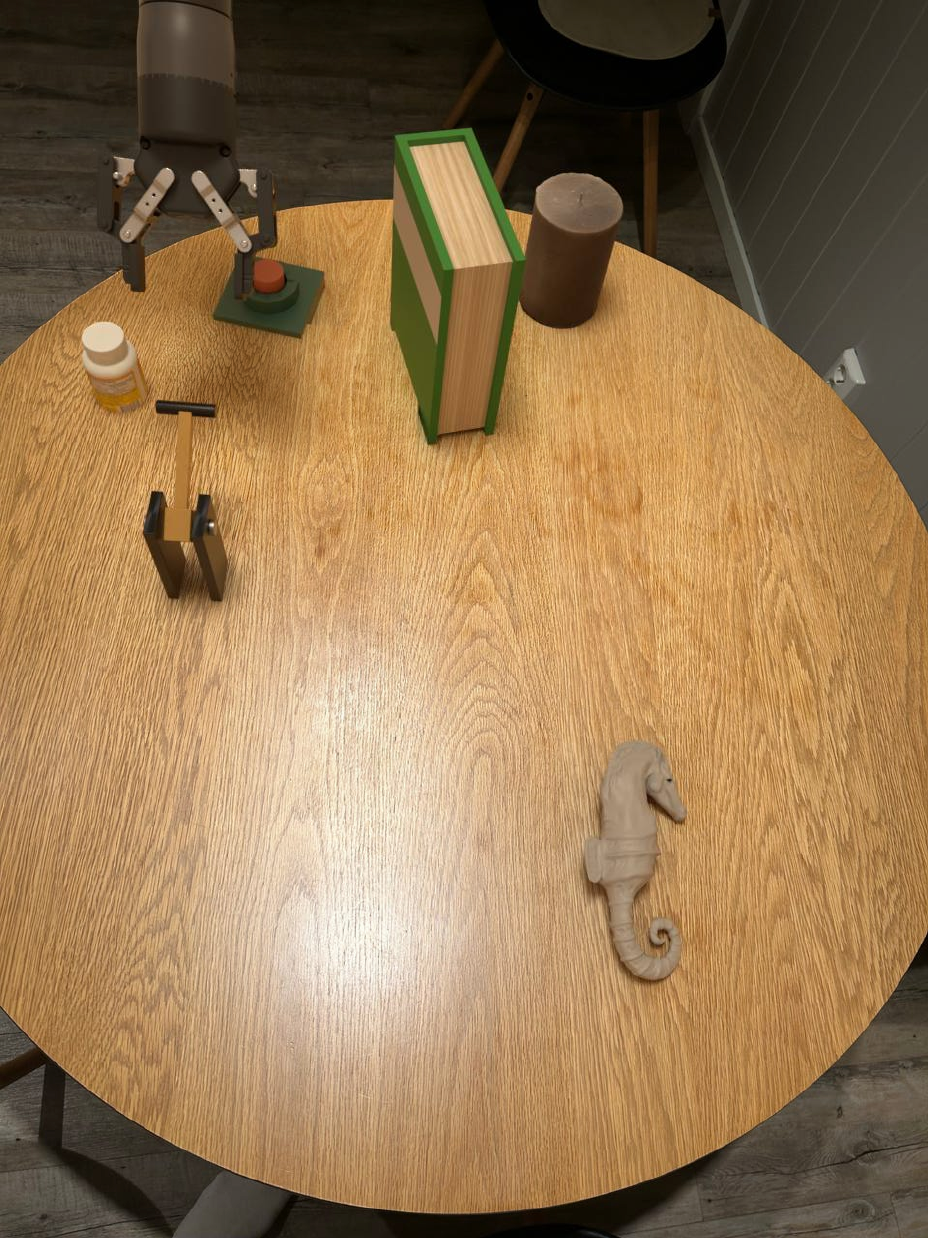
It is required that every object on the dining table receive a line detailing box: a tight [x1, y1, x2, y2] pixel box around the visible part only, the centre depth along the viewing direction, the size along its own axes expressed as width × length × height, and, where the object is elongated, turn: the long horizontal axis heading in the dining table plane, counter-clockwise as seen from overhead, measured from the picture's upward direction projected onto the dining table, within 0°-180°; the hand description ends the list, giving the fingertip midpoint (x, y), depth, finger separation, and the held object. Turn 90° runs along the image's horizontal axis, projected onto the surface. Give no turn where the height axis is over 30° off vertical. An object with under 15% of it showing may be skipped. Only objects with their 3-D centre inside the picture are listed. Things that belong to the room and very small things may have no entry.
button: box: [254, 258, 285, 294], centre depth 104 cm, size 4×4×2 cm
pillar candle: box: [519, 172, 624, 329], centre depth 106 cm, size 10×10×15 cm
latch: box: [154, 399, 218, 544], centre depth 81 cm, size 12×5×2 cm, turn 179°
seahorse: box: [583, 739, 688, 981], centre depth 81 cm, size 5×12×20 cm
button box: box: [212, 255, 326, 339], centre depth 106 cm, size 10×10×4 cm
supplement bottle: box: [81, 321, 149, 414], centre depth 96 cm, size 5×5×10 cm
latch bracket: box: [142, 490, 229, 602], centre depth 85 cm, size 10×8×13 cm
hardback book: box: [389, 127, 526, 446], centre depth 95 cm, size 18×7×24 cm, turn 16°
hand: (189, 296), depth 79 cm, fingers open, 8 cm apart
